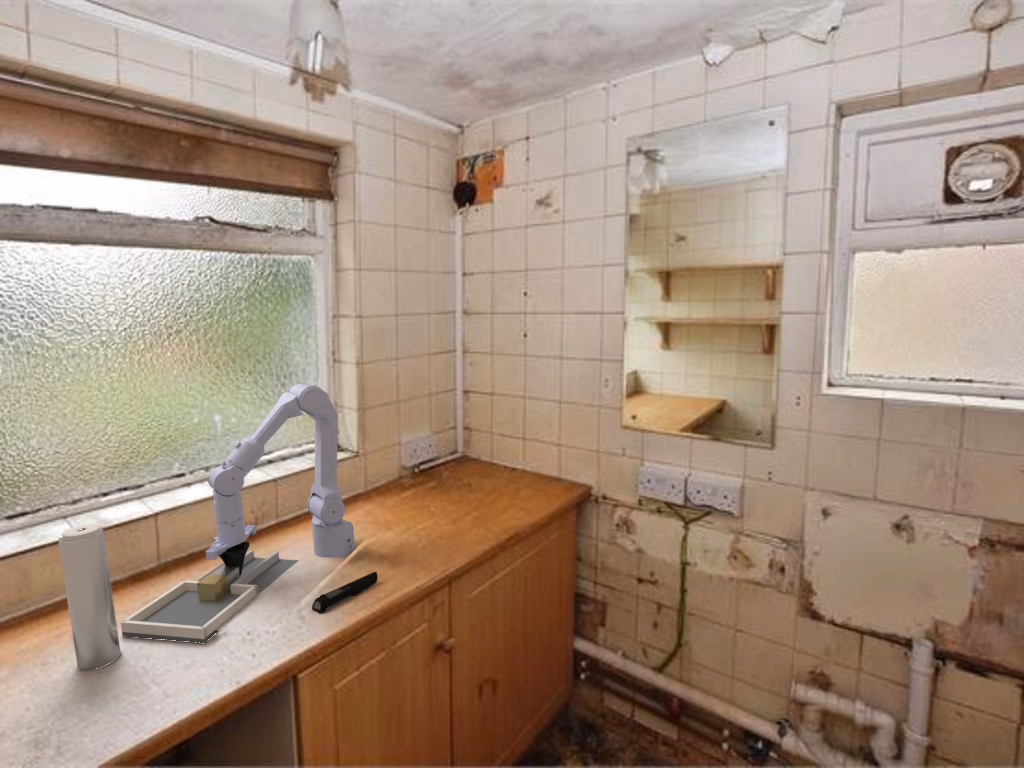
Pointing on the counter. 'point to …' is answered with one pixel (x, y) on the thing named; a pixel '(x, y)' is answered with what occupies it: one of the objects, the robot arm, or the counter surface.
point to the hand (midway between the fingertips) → (235, 575)
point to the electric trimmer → (343, 592)
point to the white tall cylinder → (89, 596)
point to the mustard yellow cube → (212, 588)
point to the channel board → (203, 604)
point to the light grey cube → (228, 574)
